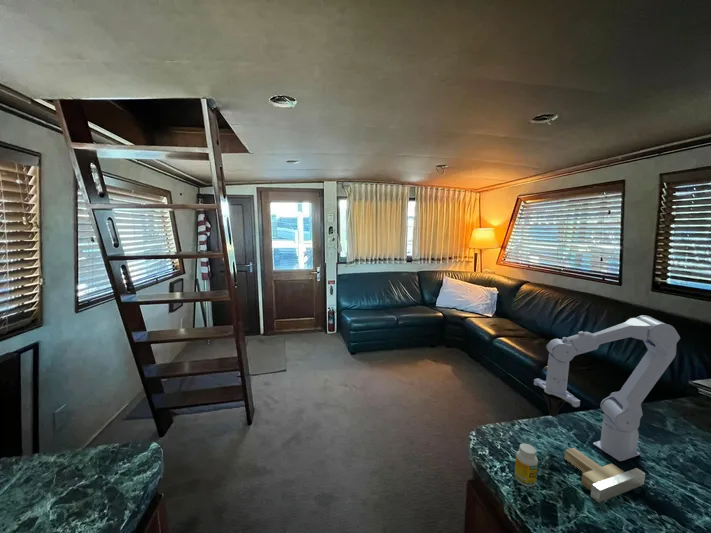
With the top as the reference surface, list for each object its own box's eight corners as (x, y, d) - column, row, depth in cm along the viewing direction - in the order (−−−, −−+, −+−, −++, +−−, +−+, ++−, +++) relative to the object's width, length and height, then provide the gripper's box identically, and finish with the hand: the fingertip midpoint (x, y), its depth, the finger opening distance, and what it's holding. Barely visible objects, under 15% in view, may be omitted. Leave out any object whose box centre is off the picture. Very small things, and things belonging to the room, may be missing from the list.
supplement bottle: (520, 469, 89) (523, 438, 88) (539, 481, 84) (543, 450, 83) (510, 477, 86) (513, 446, 85) (529, 490, 81) (532, 458, 80)
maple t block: (582, 453, 95) (583, 444, 95) (624, 482, 85) (625, 472, 84) (554, 462, 92) (555, 453, 91) (594, 493, 81) (595, 483, 80)
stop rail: (635, 479, 86) (636, 467, 85) (643, 484, 84) (645, 473, 83) (590, 496, 80) (591, 484, 80) (598, 502, 78) (600, 490, 78)
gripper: (528, 368, 104) (525, 405, 106) (570, 389, 91) (565, 431, 93) (543, 365, 107) (540, 401, 109) (586, 385, 93) (581, 426, 95)
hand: (553, 415), depth 101 cm, fingers closed
